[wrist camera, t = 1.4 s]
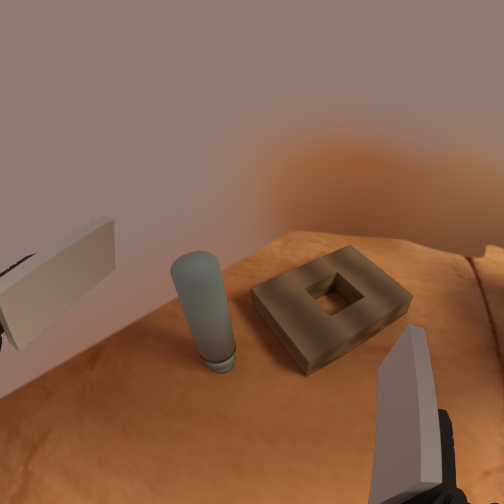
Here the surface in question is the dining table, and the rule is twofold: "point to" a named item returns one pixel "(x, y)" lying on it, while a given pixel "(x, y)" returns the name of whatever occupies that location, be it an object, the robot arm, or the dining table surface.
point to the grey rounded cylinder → (205, 308)
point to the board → (317, 319)
